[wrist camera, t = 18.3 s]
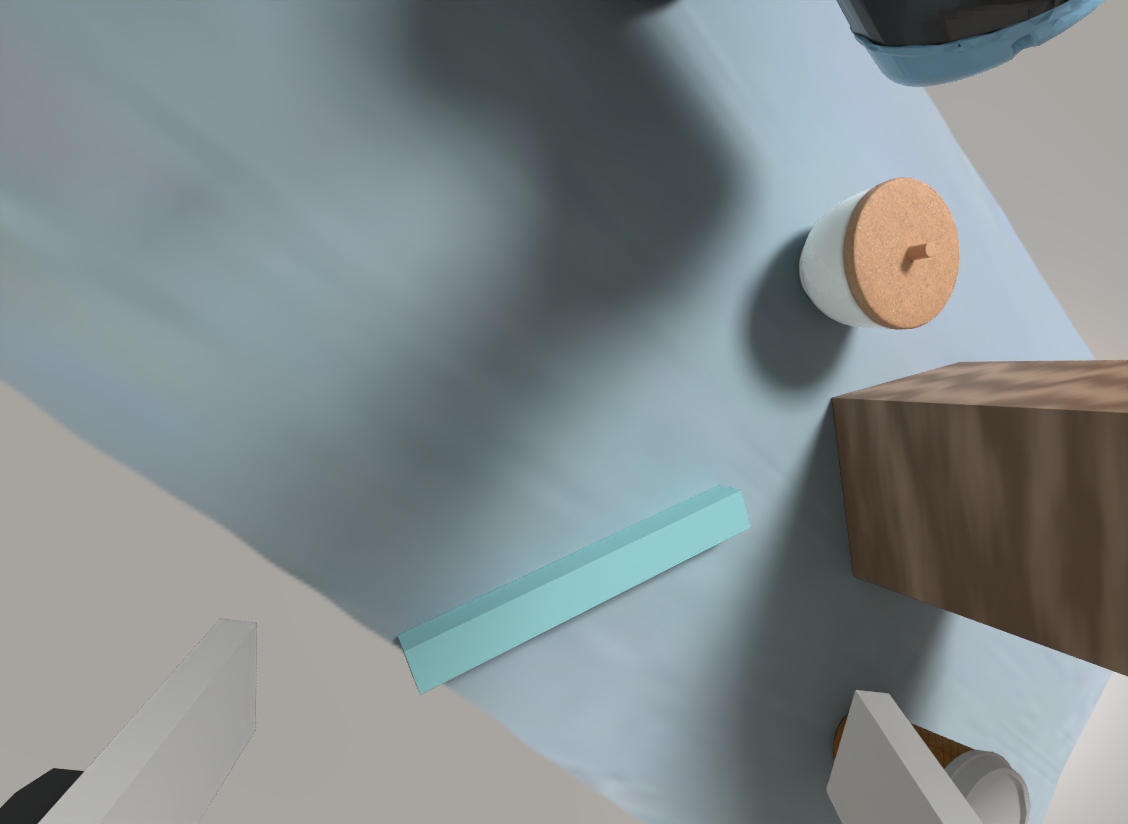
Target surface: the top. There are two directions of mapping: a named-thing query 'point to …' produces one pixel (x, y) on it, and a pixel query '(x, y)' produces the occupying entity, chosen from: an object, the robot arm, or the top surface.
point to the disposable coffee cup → (976, 778)
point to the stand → (997, 497)
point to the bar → (569, 587)
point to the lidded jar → (883, 257)
